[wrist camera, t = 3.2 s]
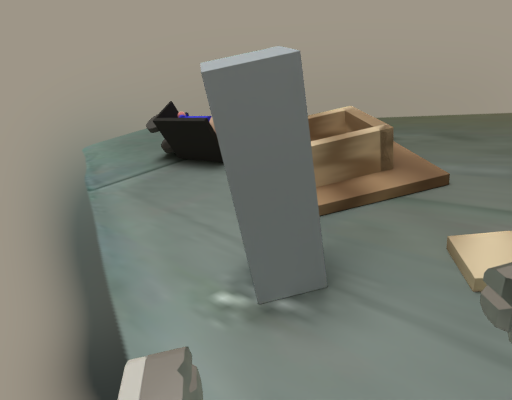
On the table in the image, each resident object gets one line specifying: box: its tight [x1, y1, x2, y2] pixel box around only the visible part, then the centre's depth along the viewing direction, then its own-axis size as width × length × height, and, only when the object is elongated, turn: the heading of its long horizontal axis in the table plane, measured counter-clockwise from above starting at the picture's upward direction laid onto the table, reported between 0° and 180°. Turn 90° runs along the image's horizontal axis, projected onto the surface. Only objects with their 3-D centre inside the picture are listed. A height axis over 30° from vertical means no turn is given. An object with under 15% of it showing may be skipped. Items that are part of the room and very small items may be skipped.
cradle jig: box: [308, 106, 450, 216], centre depth 35 cm, size 16×16×5 cm
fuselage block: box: [200, 46, 328, 304], centre depth 21 cm, size 4×4×14 cm
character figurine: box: [146, 101, 223, 162], centre depth 47 cm, size 8×7×15 cm
